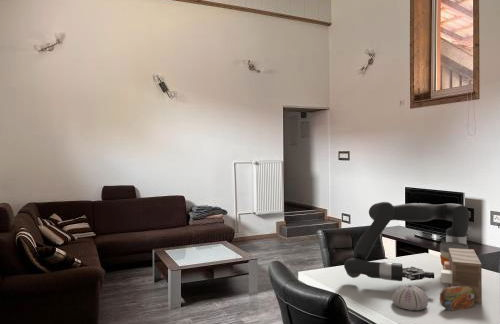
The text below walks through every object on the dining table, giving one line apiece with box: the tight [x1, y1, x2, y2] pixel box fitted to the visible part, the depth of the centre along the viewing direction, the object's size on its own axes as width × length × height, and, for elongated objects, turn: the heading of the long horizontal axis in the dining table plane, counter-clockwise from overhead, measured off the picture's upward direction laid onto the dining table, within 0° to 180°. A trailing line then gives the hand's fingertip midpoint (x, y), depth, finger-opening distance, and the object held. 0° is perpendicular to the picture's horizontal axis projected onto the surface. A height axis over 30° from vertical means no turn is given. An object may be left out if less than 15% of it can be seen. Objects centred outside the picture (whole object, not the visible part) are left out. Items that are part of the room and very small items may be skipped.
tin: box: [439, 285, 476, 312], centre depth 150 cm, size 15×3×8 cm, turn 105°
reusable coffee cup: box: [439, 241, 469, 270], centre depth 189 cm, size 13×13×15 cm
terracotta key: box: [444, 261, 450, 270], centre depth 175 cm, size 5×7×4 cm
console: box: [448, 248, 483, 305], centre depth 166 cm, size 24×10×16 cm, turn 157°
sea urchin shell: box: [391, 284, 430, 311], centre depth 153 cm, size 13×14×8 cm
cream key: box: [440, 269, 452, 284], centre depth 163 cm, size 5×7×4 cm
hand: (434, 275), depth 165 cm, fingers closed
